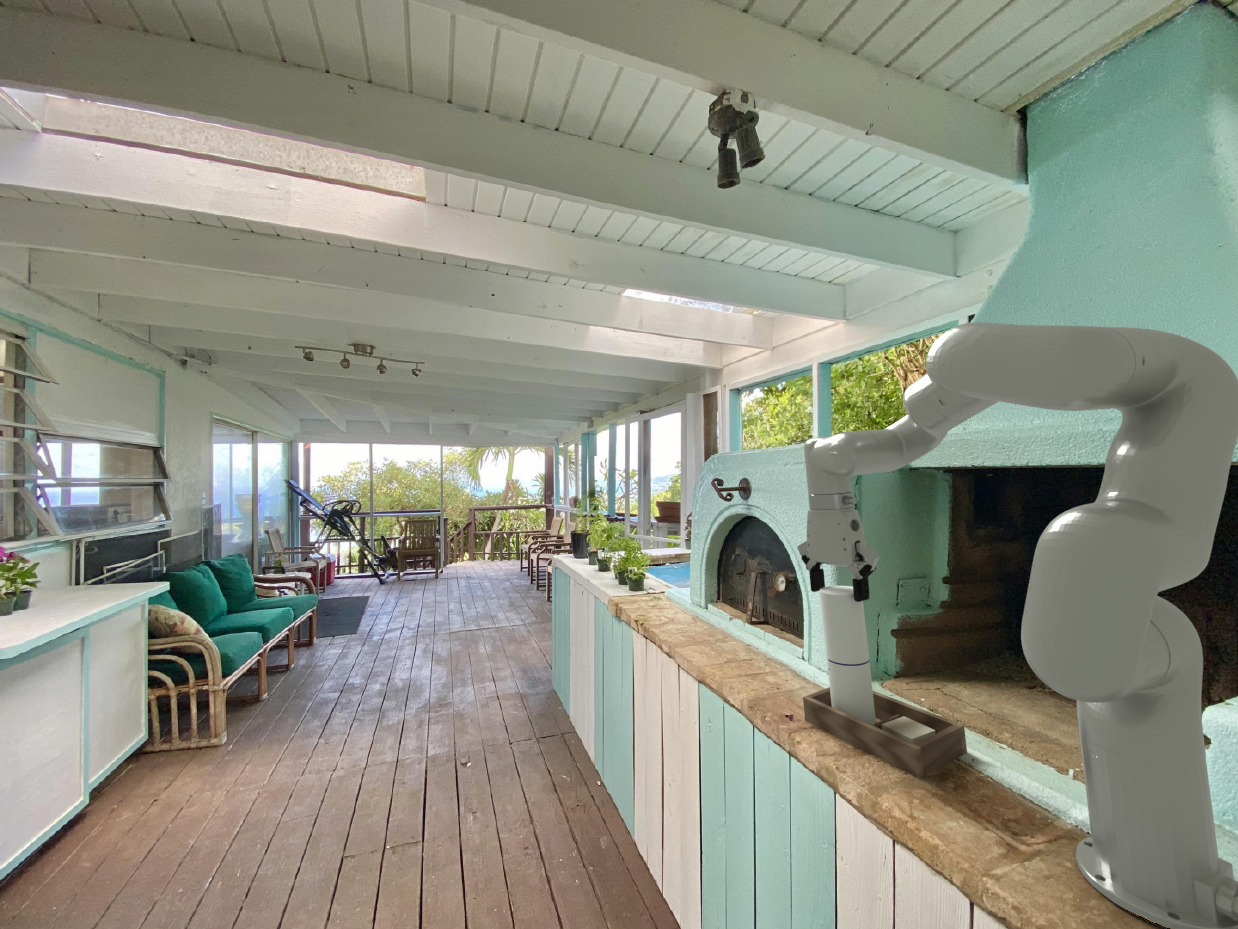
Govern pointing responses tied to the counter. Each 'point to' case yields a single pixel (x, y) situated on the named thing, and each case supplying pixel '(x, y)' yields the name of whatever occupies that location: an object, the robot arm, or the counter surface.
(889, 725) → the offcut top
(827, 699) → the tray
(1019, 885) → the counter surface
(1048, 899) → the counter surface
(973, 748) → the counter surface
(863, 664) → the cylindrical container
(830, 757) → the counter surface
